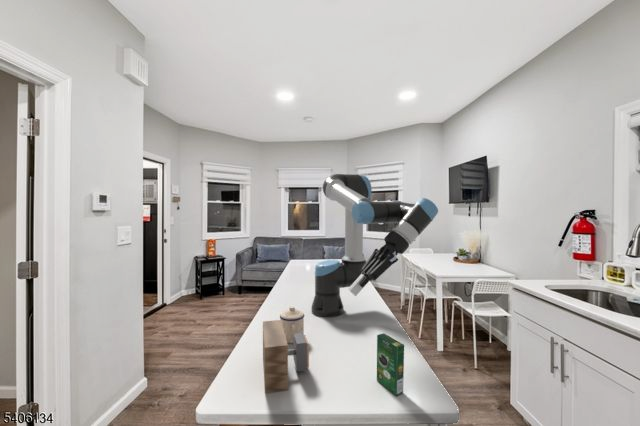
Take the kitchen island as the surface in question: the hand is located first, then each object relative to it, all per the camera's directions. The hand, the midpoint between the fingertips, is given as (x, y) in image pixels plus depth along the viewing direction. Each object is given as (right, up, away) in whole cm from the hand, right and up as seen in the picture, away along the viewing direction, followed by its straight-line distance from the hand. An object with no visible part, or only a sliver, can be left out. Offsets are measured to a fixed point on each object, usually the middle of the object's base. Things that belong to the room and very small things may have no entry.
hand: (351, 292), depth 90 cm
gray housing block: (-18, -21, -4) cm, 28 cm away
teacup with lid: (-20, -22, +16) cm, 34 cm away
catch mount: (-23, -22, -5) cm, 33 cm away
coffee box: (+9, -22, -12) cm, 27 cm away
